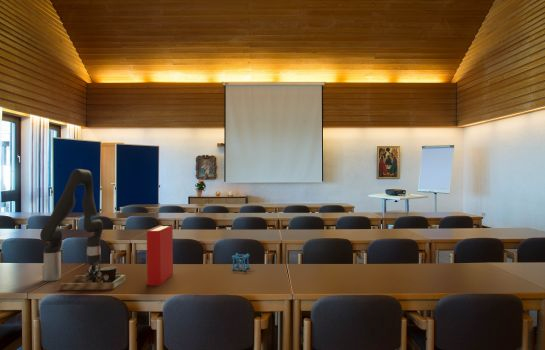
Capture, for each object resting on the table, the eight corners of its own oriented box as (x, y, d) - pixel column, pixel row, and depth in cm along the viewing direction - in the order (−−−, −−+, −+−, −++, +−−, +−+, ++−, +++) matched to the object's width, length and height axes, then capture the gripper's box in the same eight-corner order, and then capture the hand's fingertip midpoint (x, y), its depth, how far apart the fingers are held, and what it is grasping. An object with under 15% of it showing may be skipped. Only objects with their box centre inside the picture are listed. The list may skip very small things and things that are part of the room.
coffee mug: (120, 283, 243) (119, 267, 243) (108, 287, 236) (107, 270, 235) (107, 281, 249) (106, 265, 249) (94, 285, 241) (94, 268, 241)
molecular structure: (231, 270, 274) (231, 255, 274) (236, 267, 284) (236, 253, 284) (245, 271, 272) (245, 256, 272) (250, 268, 282) (249, 253, 282)
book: (160, 273, 268) (160, 224, 268) (172, 273, 268) (172, 224, 267) (146, 285, 241) (145, 230, 240) (159, 285, 240) (159, 230, 240)
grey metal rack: (60, 289, 233) (60, 283, 233) (82, 277, 260) (82, 272, 260) (113, 289, 233) (113, 283, 233) (129, 277, 260) (129, 271, 260)
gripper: (92, 251, 249) (92, 279, 249) (82, 255, 236) (82, 286, 236) (104, 251, 249) (104, 279, 249) (95, 255, 236) (95, 285, 236)
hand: (94, 282), depth 242 cm, fingers closed
